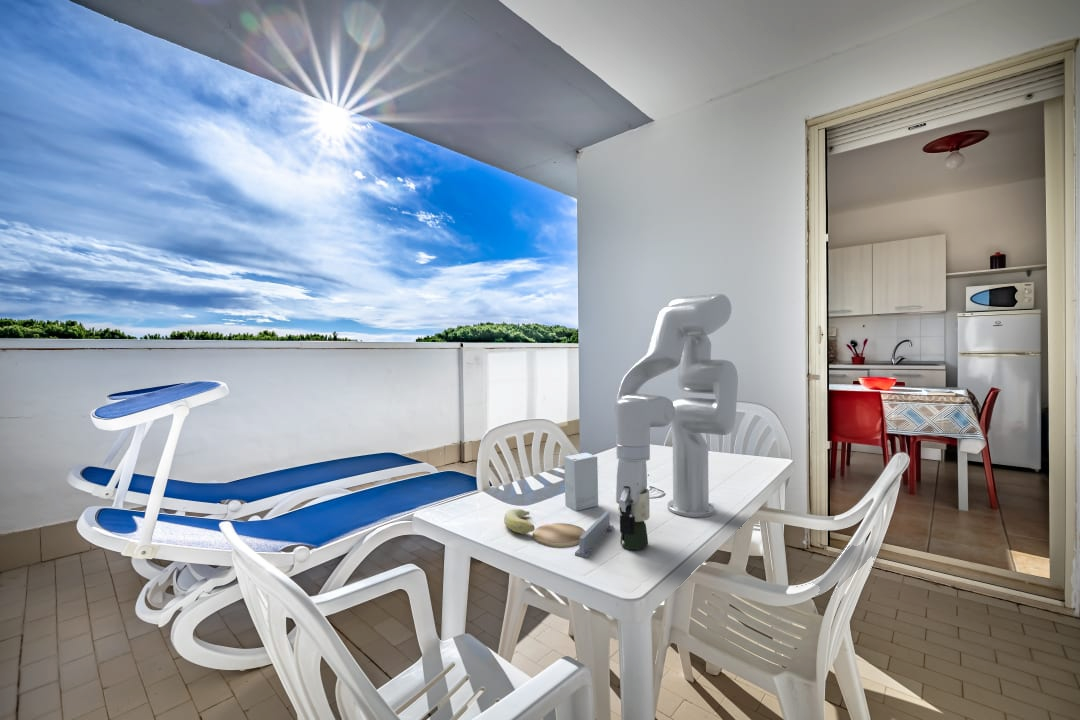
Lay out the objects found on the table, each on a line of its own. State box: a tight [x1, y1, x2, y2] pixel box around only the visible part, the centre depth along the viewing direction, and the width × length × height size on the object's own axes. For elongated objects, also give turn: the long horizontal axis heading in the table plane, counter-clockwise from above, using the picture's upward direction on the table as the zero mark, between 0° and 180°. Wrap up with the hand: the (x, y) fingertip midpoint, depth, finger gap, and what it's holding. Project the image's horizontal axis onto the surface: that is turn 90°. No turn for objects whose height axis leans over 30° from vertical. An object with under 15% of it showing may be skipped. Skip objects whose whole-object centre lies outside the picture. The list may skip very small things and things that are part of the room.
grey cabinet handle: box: [574, 511, 615, 559], centre depth 107 cm, size 18×3×4 cm, turn 153°
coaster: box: [532, 522, 586, 548], centre depth 110 cm, size 13×13×1 cm
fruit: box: [503, 508, 536, 535], centre depth 116 cm, size 7×15×3 cm, turn 7°
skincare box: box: [563, 452, 599, 512], centre depth 131 cm, size 8×6×15 cm
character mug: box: [617, 487, 651, 550], centre depth 104 cm, size 11×7×13 cm, turn 24°
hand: (633, 526), depth 104 cm, fingers open, 9 cm apart
